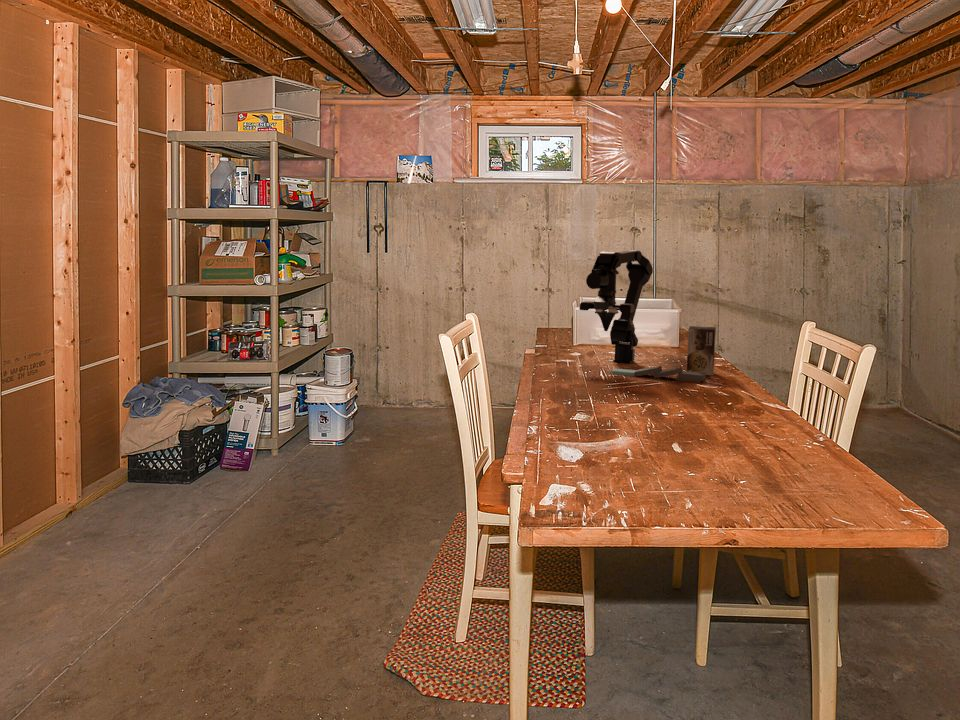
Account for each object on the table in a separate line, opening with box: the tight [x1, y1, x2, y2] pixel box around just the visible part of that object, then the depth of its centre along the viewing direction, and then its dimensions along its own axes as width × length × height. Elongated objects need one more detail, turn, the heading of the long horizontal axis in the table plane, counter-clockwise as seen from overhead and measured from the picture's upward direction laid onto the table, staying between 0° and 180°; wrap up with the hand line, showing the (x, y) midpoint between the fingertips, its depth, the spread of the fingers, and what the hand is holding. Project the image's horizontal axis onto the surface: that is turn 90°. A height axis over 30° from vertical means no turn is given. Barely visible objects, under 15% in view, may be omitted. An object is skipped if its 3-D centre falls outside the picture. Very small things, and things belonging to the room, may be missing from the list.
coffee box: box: [686, 326, 717, 376], centre depth 268 cm, size 9×6×16 cm
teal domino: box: [610, 368, 638, 377], centre depth 267 cm, size 2×5×8 cm
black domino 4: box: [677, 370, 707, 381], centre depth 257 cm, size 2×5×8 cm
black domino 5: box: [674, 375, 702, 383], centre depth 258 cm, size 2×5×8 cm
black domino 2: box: [634, 365, 663, 377], centre depth 263 cm, size 2×5×8 cm
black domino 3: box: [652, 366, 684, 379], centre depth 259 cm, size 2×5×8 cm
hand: (605, 331), depth 278 cm, fingers closed
